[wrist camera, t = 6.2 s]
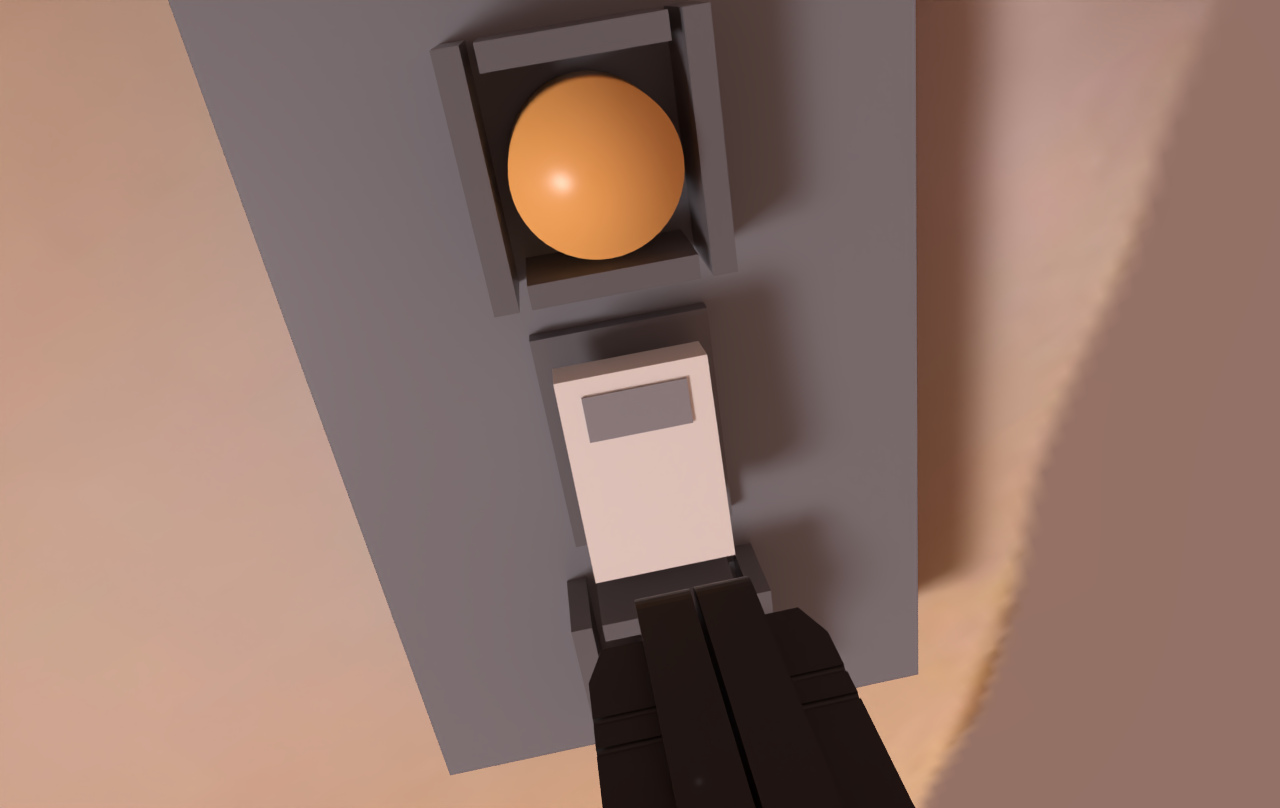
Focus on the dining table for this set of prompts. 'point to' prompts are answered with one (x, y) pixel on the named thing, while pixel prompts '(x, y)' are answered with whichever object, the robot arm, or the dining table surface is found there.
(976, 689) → the dining table surface
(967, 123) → the dining table surface
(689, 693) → the robot arm
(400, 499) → the control panel
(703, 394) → the rocker switch
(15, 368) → the dining table surface
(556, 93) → the orange button
